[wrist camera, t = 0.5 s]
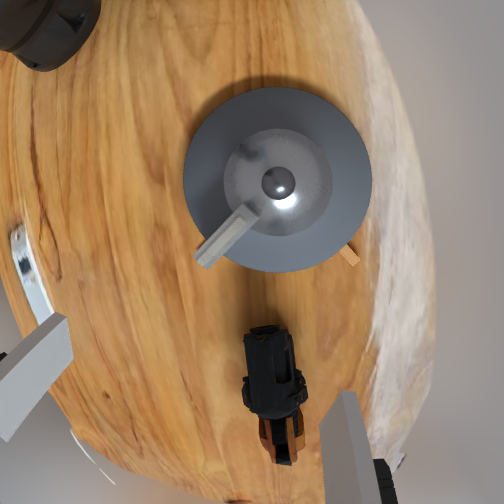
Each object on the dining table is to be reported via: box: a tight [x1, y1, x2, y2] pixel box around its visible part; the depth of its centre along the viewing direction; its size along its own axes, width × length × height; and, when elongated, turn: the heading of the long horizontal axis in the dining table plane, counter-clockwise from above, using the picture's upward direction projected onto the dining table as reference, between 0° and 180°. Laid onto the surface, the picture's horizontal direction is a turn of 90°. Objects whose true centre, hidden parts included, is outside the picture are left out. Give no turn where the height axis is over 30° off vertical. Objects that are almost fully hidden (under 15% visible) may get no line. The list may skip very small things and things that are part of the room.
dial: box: [193, 129, 333, 270], centre depth 27 cm, size 16×10×4 cm, turn 136°
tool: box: [242, 325, 308, 466], centre depth 35 cm, size 8×23×15 cm, turn 10°
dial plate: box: [183, 87, 372, 273], centre depth 30 cm, size 22×22×2 cm
